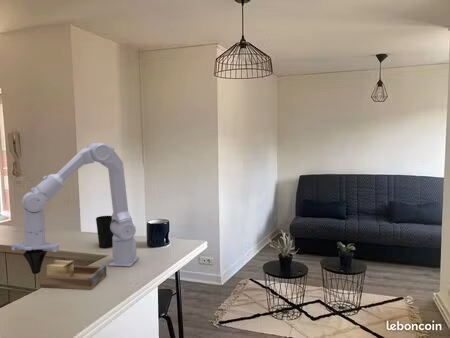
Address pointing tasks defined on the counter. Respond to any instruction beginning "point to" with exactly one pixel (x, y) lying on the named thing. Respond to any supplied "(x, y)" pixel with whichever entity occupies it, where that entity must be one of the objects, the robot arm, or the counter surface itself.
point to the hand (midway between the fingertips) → (36, 272)
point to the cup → (104, 231)
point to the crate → (60, 268)
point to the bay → (76, 278)
